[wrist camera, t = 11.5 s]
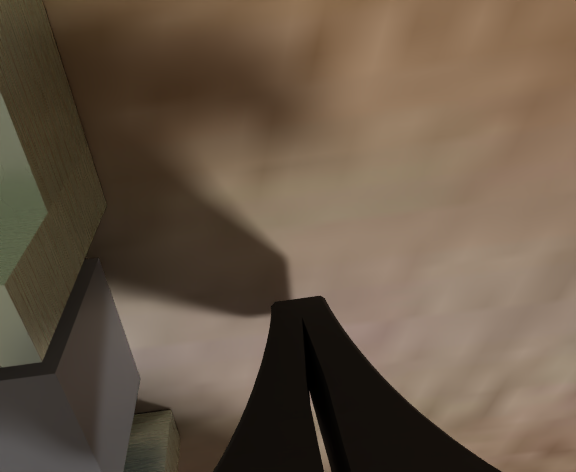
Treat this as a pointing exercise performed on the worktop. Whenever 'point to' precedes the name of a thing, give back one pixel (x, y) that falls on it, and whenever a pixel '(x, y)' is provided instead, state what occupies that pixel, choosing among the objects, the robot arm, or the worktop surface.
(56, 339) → the stepped gray box
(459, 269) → the worktop surface
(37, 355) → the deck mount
